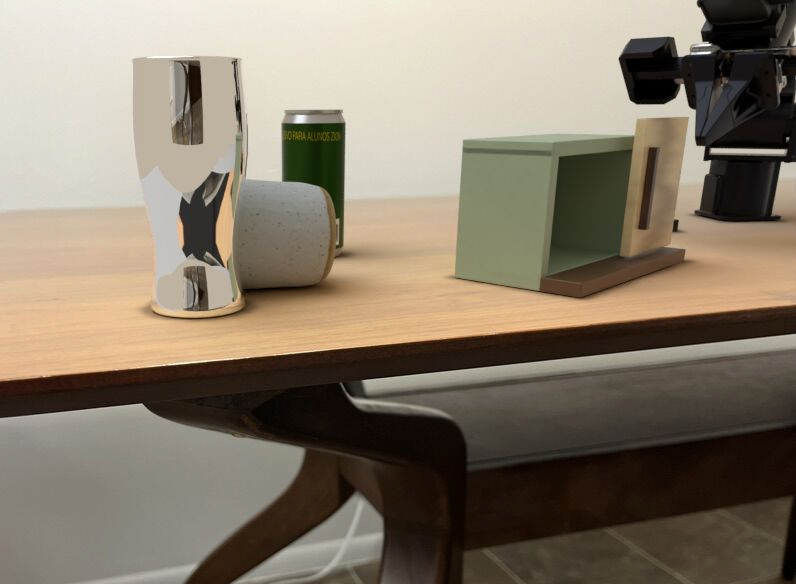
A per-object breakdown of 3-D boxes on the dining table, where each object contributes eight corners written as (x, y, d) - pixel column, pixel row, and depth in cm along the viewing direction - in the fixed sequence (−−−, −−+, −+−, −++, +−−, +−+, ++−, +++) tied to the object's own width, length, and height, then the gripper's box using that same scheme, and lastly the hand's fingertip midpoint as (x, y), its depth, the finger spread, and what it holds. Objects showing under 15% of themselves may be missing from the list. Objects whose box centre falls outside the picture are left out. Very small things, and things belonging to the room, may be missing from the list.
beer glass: (231, 323, 49) (223, 54, 44) (125, 316, 51) (106, 57, 46) (264, 297, 55) (260, 60, 50) (169, 292, 57) (156, 63, 52)
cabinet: (569, 247, 74) (582, 132, 70) (684, 261, 67) (703, 134, 64) (454, 277, 61) (462, 139, 58) (580, 298, 55) (597, 142, 51)
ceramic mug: (341, 293, 56) (342, 178, 54) (223, 300, 54) (219, 181, 52) (303, 268, 66) (303, 170, 63) (202, 273, 64) (198, 172, 62)
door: (660, 243, 67) (678, 116, 64) (678, 245, 66) (697, 117, 63) (619, 256, 62) (636, 118, 59) (637, 258, 61) (656, 118, 58)
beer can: (356, 254, 71) (359, 109, 67) (309, 261, 68) (310, 110, 64) (315, 246, 75) (316, 109, 71) (270, 253, 72) (268, 110, 68)
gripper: (641, -59, 72) (569, 71, 68) (896, -95, 59) (826, 62, 56) (663, 41, 80) (600, 163, 76) (893, 28, 67) (831, 173, 63)
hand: (700, 142), depth 68 cm, fingers closed
